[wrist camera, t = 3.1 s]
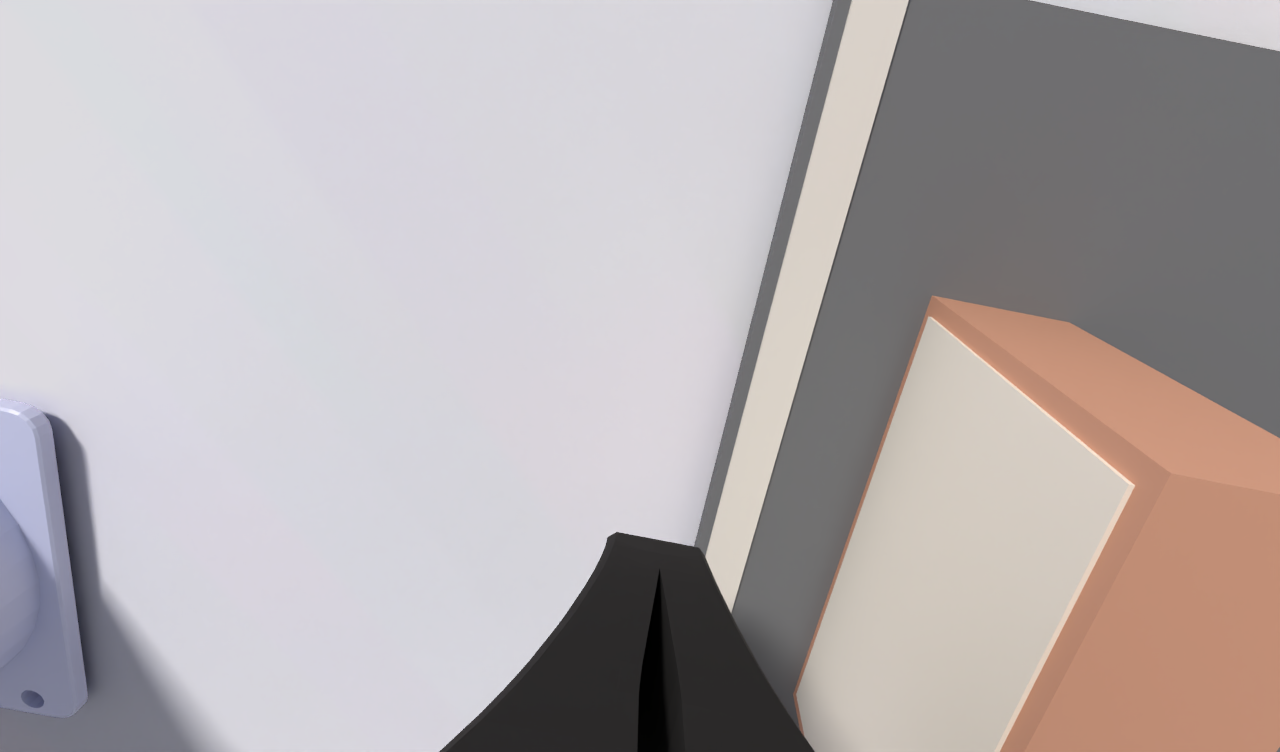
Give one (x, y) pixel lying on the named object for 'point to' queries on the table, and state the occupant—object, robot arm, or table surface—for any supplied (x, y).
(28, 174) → the table surface
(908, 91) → the mat
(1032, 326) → the card box
